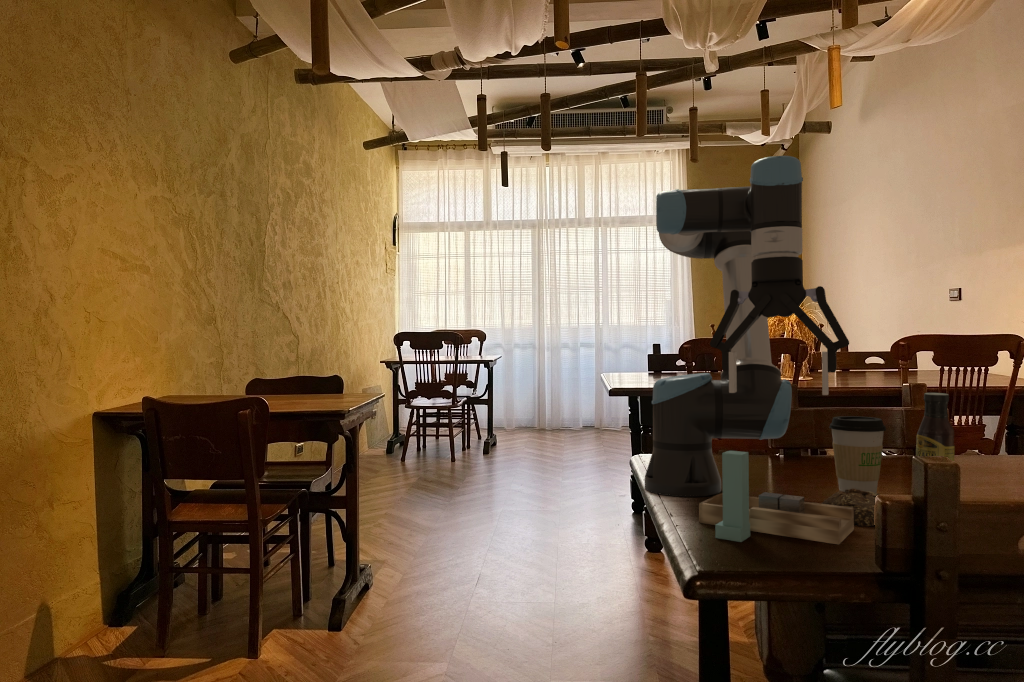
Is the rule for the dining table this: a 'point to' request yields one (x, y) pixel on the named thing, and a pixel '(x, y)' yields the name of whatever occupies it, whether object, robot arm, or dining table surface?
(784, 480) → the dining table surface
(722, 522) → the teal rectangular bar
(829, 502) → the bread roll
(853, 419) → the coffee cup
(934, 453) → the sauce bottle
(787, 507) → the chip
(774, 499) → the chip
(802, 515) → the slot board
